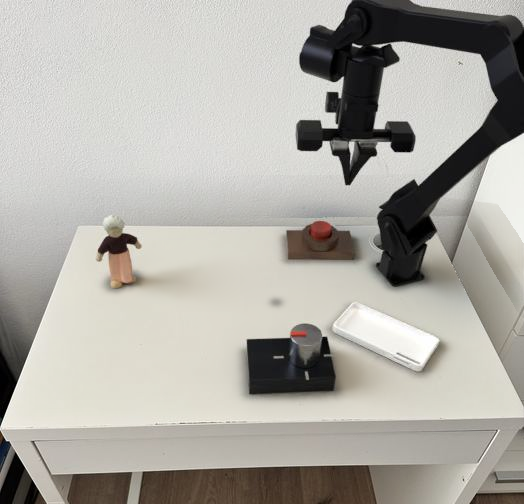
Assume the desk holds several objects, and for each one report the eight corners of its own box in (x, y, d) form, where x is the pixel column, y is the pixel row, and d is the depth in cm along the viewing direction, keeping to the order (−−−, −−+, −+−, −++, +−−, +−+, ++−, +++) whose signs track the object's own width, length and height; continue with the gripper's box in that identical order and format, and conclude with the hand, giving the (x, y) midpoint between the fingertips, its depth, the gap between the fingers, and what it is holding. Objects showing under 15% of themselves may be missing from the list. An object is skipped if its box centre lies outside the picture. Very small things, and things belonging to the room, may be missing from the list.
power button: (329, 228, 99) (330, 220, 98) (331, 240, 96) (332, 231, 95) (309, 228, 99) (310, 220, 97) (311, 240, 96) (312, 231, 95)
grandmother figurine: (111, 295, 89) (96, 230, 80) (100, 284, 91) (83, 219, 82) (150, 276, 93) (140, 212, 84) (138, 266, 95) (127, 202, 86)
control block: (348, 238, 102) (351, 222, 100) (353, 260, 97) (356, 244, 95) (285, 237, 102) (286, 221, 99) (287, 259, 97) (288, 243, 95)
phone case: (438, 344, 83) (353, 306, 89) (441, 338, 82) (354, 300, 88) (419, 373, 79) (330, 331, 84) (421, 367, 78) (331, 325, 83)
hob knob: (316, 345, 78) (320, 321, 75) (321, 367, 75) (324, 343, 72) (286, 346, 78) (288, 322, 74) (290, 368, 75) (292, 344, 71)
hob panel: (326, 348, 82) (329, 334, 80) (335, 392, 76) (338, 377, 74) (246, 351, 81) (246, 336, 79) (249, 395, 75) (249, 381, 73)
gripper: (411, 72, 87) (392, 162, 98) (296, 70, 87) (291, 161, 98) (426, 99, 79) (404, 194, 91) (301, 97, 79) (294, 192, 90)
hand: (347, 184), depth 93 cm, fingers closed
